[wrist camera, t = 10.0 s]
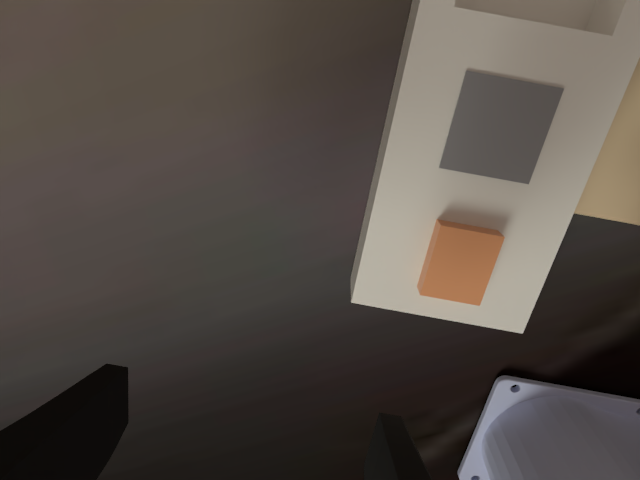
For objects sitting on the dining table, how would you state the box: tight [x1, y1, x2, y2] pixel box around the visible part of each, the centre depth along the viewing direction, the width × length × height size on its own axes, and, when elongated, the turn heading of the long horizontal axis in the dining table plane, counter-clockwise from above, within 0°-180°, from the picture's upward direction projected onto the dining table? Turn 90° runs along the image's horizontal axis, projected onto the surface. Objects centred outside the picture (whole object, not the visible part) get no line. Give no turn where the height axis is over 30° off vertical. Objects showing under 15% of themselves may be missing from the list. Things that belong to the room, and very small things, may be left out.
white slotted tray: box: [351, 0, 640, 334], centre depth 15 cm, size 8×22×3 cm, turn 170°
